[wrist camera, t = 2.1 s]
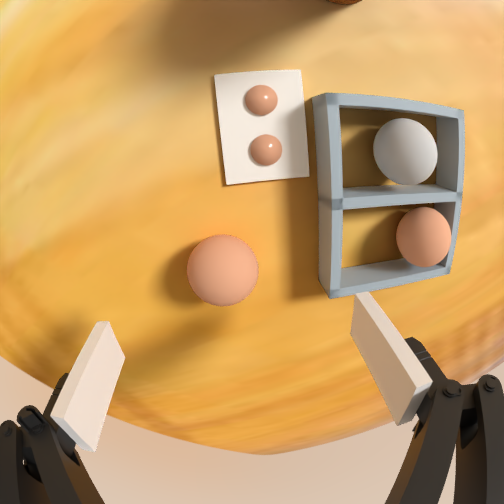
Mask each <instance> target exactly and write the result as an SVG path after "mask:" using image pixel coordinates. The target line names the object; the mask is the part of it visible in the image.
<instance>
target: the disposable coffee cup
mask: <svg viewBox="0 0 504 504" xmlns="http://www.w3.org/2000/svg"><path fill="white" fill-rule="evenodd" d="M328 1H330V2H334V3H338V4H355V3H357V2H359V1H361V0H328Z"/></svg>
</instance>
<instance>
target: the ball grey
mask: <svg viewBox="0 0 504 504" xmlns="http://www.w3.org/2000/svg"><path fill="white" fill-rule="evenodd" d="M373 153H374V158H375V161H376V163H377V166H378V167H379V169H380V170H381V172H382V173H383V174H384V175H385V176H386V177H387V178H389V179H390V180H392V181H393V182H395V183H398V184H402V185H415V184H419V183H421V182H423V181H425V180H426V179H427V178H428V177H429V176H430V175H431V174H432V172H433V171H434V169H435V166H436V163H437V156H438V154H437V146H436V143H435V140H434V138H433V137H432V135H431V133H430V132H429V131H428V130H427V129H426V128H425V127H424V126H423V125H422V124H420V123H418V122H417V121H414V120H411V119H407V118H398V119H394V120H391V121H389V122H387V123H386V124H384V125H383V126H382V127H381V128H380V129H379V131H378V132H377V134H376V136H375V139H374V144H373Z"/></svg>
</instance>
